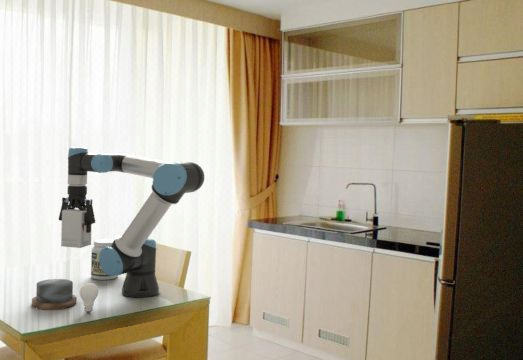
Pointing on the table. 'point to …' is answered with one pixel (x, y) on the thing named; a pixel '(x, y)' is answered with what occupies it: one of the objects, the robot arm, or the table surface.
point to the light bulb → (88, 295)
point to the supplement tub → (95, 264)
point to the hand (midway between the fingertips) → (76, 239)
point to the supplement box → (73, 229)
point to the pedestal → (54, 295)
